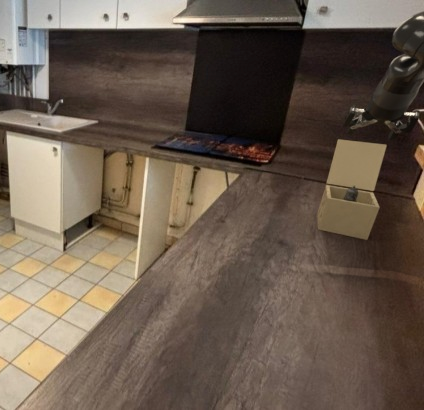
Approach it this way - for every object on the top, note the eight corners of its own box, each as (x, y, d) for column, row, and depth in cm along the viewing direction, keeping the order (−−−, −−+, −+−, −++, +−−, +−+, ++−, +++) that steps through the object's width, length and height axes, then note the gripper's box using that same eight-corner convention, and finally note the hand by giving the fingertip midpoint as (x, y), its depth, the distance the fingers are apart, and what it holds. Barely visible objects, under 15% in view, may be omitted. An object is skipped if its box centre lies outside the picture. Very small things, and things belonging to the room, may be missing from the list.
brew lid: (386, 144, 103) (382, 147, 107) (338, 139, 108) (336, 141, 112) (374, 190, 104) (370, 191, 108) (326, 183, 110) (324, 184, 114)
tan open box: (367, 240, 99) (379, 207, 95) (317, 229, 104) (327, 198, 100) (362, 222, 109) (373, 192, 105) (317, 213, 114) (326, 184, 110)
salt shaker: (332, 225, 104) (345, 187, 99) (327, 217, 109) (339, 180, 105) (356, 229, 102) (370, 190, 98) (350, 221, 107) (363, 183, 103)
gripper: (434, 84, 81) (405, 127, 95) (358, 81, 87) (341, 121, 101) (431, 111, 79) (401, 151, 92) (353, 106, 85) (336, 143, 99)
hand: (370, 135), depth 97 cm, fingers open, 8 cm apart
